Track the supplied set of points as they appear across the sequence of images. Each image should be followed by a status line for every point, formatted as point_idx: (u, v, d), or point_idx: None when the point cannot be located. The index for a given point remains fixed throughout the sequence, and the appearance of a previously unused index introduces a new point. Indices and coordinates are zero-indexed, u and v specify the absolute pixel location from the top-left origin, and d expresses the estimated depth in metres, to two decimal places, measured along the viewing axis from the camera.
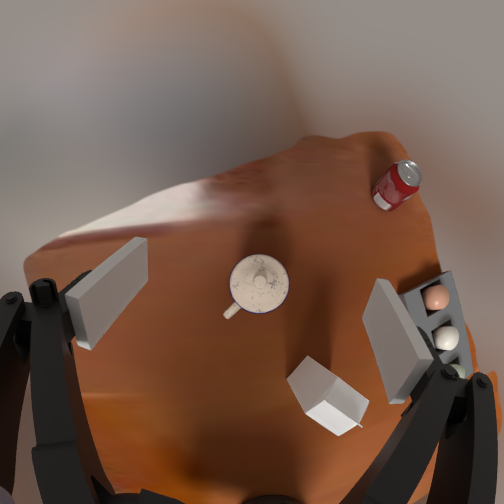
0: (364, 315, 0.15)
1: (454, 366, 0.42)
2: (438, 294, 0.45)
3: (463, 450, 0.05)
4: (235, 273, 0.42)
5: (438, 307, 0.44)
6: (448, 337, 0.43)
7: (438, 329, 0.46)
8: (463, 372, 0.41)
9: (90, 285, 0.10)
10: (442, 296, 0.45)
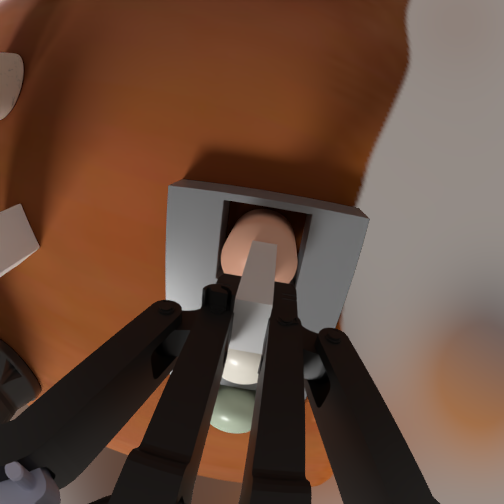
0: None
1: (233, 405, 0.24)
2: None
3: (344, 421, 0.07)
4: None
5: None
6: (233, 359, 0.21)
7: None
8: (249, 425, 0.24)
9: (253, 288, 0.12)
10: None
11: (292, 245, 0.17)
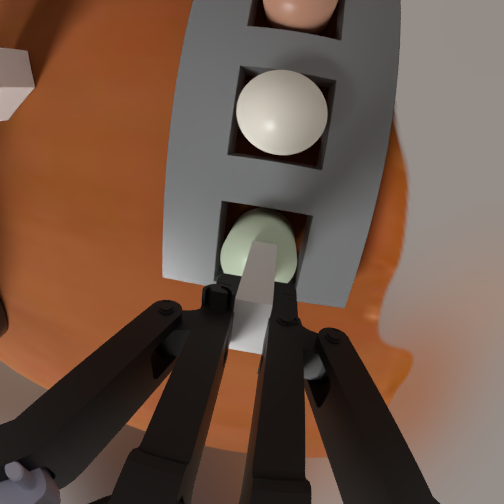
0: None
1: (264, 221, 0.17)
2: None
3: (344, 421, 0.07)
4: None
5: (274, 4, 0.12)
6: (271, 100, 0.13)
7: None
8: (287, 267, 0.18)
9: (253, 288, 0.12)
10: None
11: None
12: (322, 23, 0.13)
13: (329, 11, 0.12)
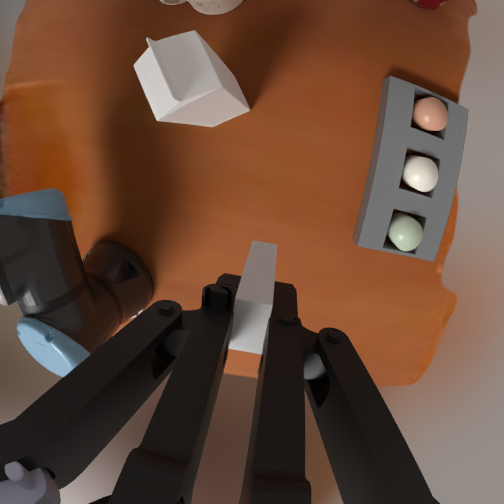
0: None
1: (411, 218, 0.35)
2: (432, 108, 0.28)
3: (344, 421, 0.07)
4: None
5: (425, 121, 0.29)
6: (421, 169, 0.32)
7: None
8: (418, 238, 0.35)
9: (253, 288, 0.12)
10: (437, 115, 0.28)
11: (446, 109, 0.28)
12: None
13: (443, 127, 0.29)
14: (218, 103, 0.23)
